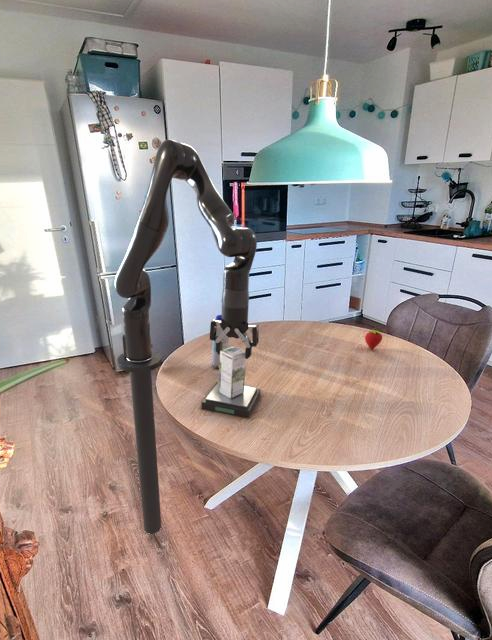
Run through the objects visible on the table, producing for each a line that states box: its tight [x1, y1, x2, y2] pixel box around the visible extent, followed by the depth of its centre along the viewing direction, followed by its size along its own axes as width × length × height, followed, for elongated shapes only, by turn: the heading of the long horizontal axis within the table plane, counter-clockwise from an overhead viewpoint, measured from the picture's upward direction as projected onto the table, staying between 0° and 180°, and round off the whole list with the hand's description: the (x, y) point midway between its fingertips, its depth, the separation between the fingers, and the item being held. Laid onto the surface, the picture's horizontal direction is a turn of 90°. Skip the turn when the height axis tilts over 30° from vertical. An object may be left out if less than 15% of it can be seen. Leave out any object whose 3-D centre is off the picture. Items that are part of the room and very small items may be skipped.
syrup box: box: [218, 345, 247, 398], centre depth 117 cm, size 6×6×14 cm
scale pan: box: [206, 381, 258, 409], centre depth 121 cm, size 13×12×1 cm
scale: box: [200, 381, 262, 419], centre depth 121 cm, size 15×14×2 cm
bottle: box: [211, 314, 230, 369], centre depth 141 cm, size 7×7×20 cm
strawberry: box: [364, 326, 383, 350], centre depth 163 cm, size 6×8×10 cm
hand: (233, 355), depth 115 cm, fingers open, 8 cm apart
